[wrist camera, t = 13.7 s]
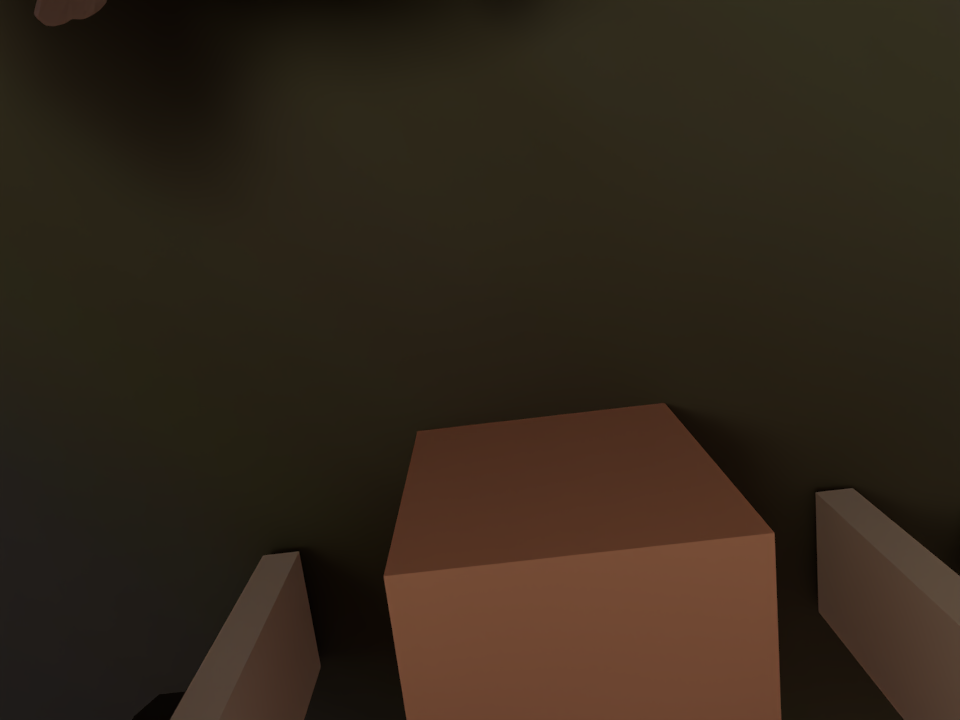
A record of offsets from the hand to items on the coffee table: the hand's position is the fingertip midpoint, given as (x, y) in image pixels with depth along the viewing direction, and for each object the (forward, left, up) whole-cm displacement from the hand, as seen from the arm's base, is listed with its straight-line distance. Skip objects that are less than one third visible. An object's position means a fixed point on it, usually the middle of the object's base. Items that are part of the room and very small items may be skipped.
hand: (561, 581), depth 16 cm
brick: (0, 0, 0) cm, 0 cm away
